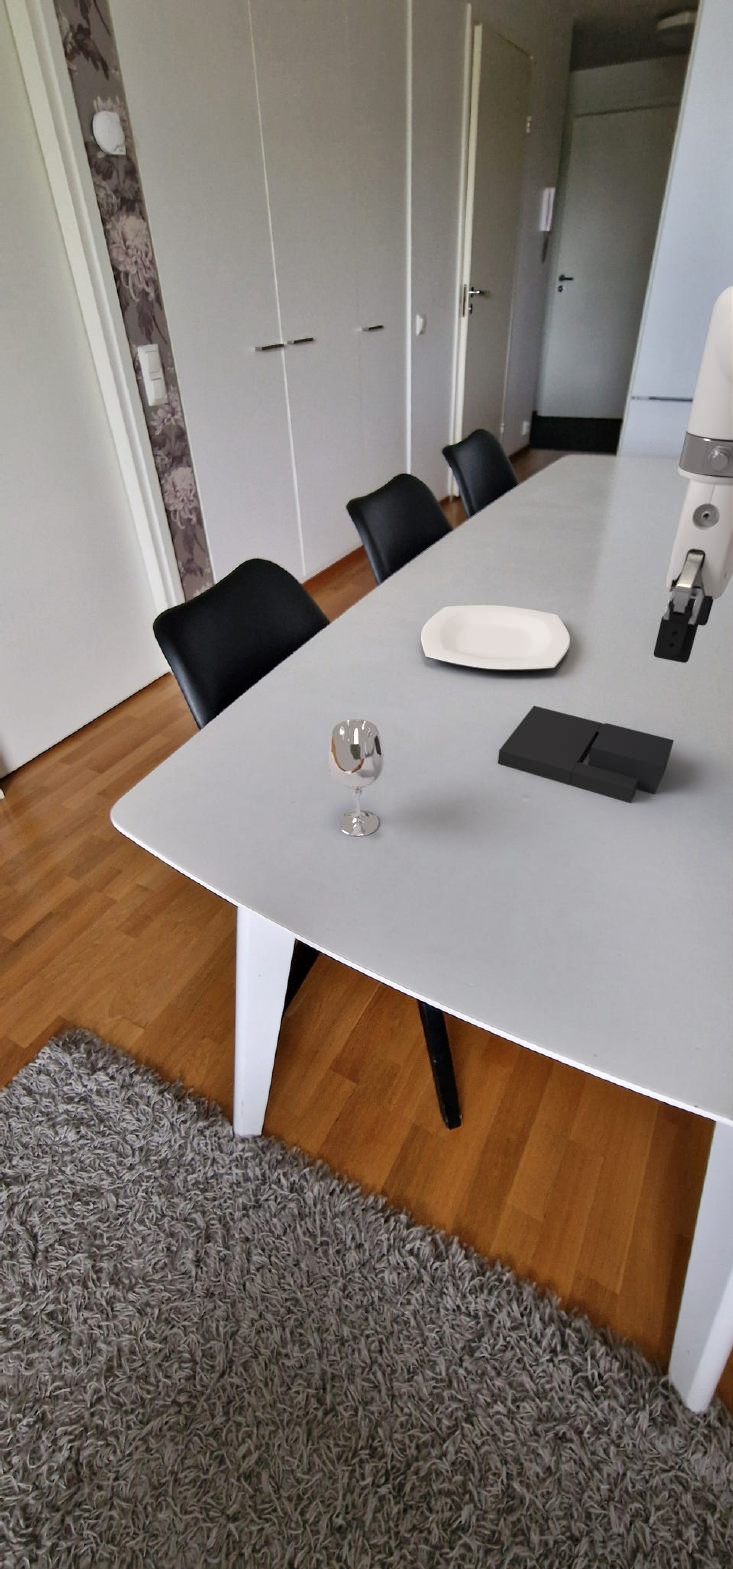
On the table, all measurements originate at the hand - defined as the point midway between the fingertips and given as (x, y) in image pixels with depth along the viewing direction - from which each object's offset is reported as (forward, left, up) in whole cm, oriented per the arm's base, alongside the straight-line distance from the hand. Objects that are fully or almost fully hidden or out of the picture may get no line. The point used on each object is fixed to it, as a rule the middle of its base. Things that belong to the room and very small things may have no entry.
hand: (680, 639), depth 71 cm
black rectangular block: (+2, -2, -18) cm, 19 cm away
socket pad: (+8, -2, -18) cm, 20 cm away
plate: (+29, -26, -19) cm, 43 cm away
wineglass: (+25, +22, -19) cm, 38 cm away
